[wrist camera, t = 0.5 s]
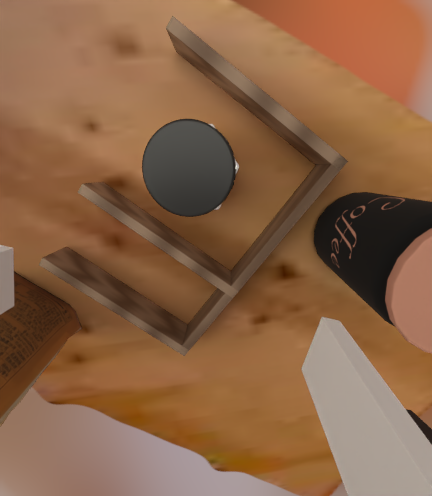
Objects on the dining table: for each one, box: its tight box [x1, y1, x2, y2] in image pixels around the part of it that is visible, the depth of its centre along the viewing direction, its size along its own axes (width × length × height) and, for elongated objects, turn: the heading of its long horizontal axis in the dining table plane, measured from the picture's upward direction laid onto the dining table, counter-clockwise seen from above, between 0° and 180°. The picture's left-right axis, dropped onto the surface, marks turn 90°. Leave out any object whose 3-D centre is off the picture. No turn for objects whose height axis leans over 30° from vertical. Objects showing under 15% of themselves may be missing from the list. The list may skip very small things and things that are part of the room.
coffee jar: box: [314, 192, 432, 353], centre depth 26 cm, size 11×11×18 cm
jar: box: [142, 119, 239, 217], centre depth 27 cm, size 9×8×12 cm
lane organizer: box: [39, 16, 348, 356], centre depth 32 cm, size 22×32×5 cm
